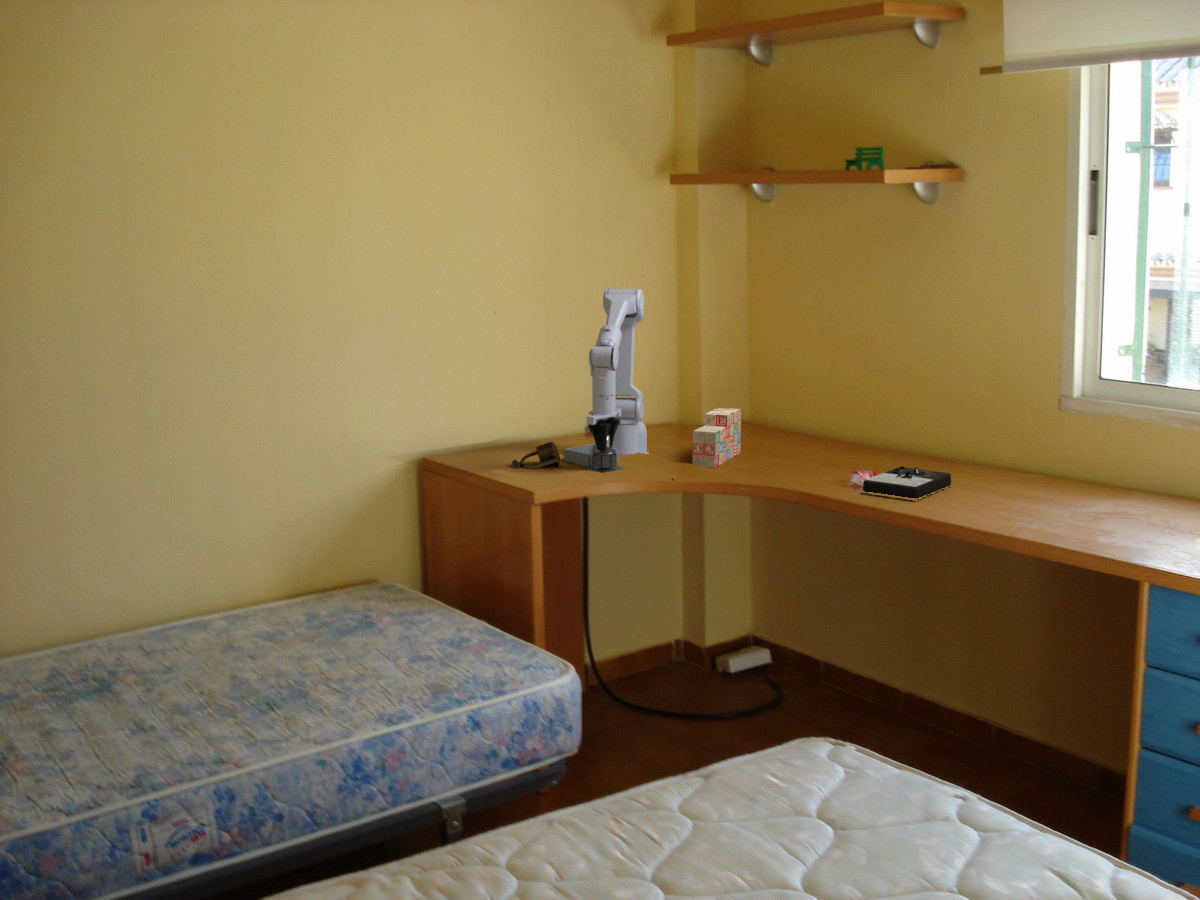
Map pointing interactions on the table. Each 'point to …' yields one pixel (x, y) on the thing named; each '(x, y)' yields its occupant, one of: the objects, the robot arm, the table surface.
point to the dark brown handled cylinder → (541, 457)
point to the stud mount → (604, 469)
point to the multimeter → (907, 482)
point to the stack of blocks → (717, 438)
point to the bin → (582, 454)
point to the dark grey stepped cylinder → (604, 457)
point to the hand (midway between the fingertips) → (604, 449)
